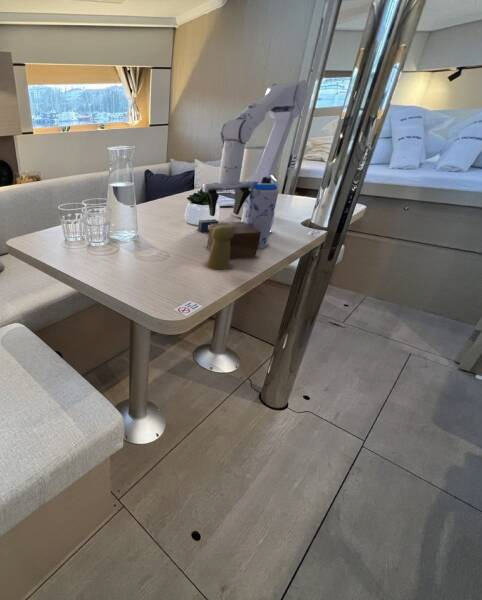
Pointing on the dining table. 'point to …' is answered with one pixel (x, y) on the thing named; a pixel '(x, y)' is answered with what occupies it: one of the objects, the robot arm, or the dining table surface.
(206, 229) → the dark blue-grey block
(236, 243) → the cabinet
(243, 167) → the cylinder vase
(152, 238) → the dining table surface
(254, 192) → the aerosol can
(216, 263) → the cork
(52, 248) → the dining table surface
